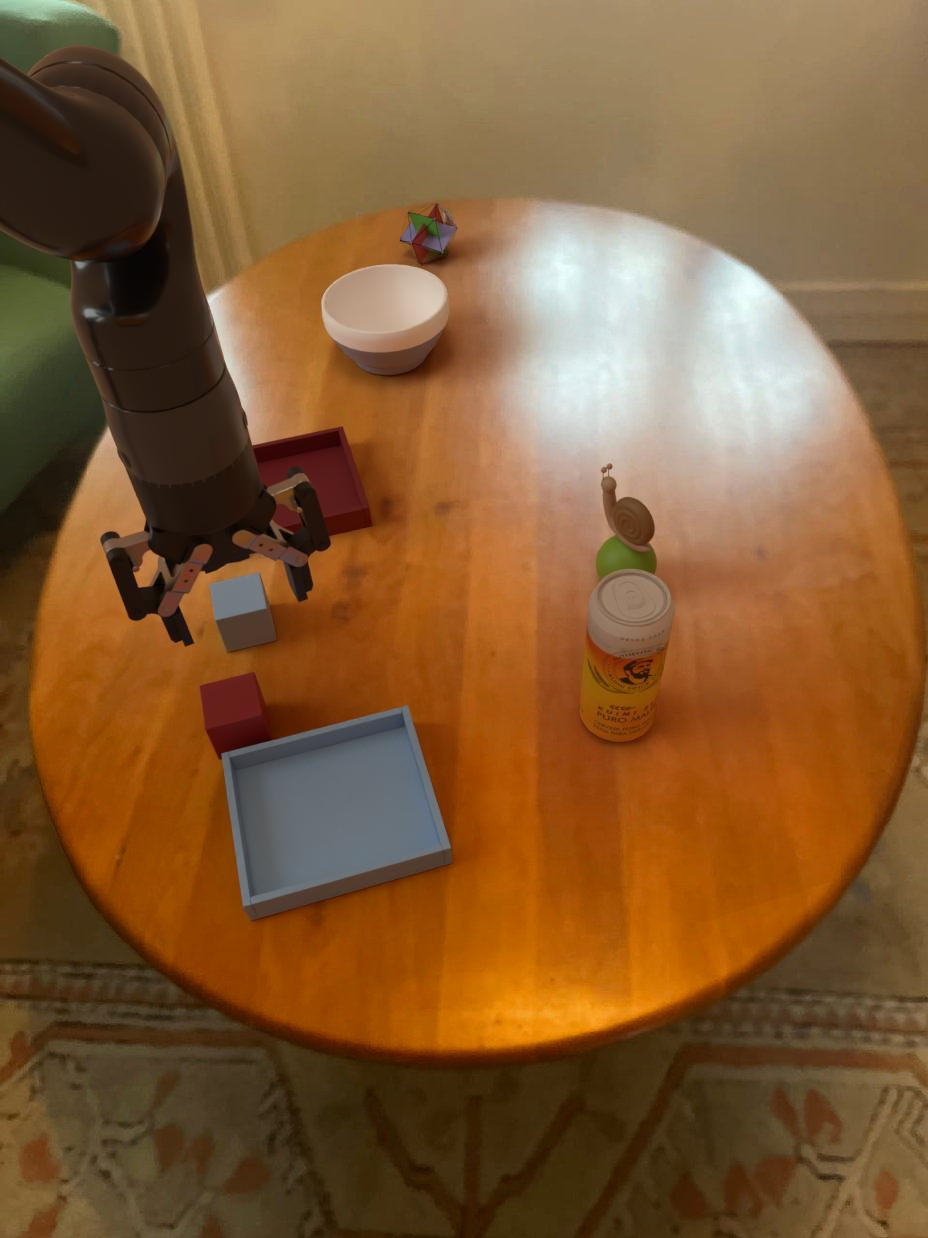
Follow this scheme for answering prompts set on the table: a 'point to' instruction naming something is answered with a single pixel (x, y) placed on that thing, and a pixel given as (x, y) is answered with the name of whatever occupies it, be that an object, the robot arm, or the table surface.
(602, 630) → the beer can
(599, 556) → the snail figurine
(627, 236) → the table surface
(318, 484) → the burgundy tray
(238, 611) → the blue block
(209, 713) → the burgundy block
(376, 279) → the bowl
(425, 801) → the blue tray
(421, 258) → the geometric puzzle
